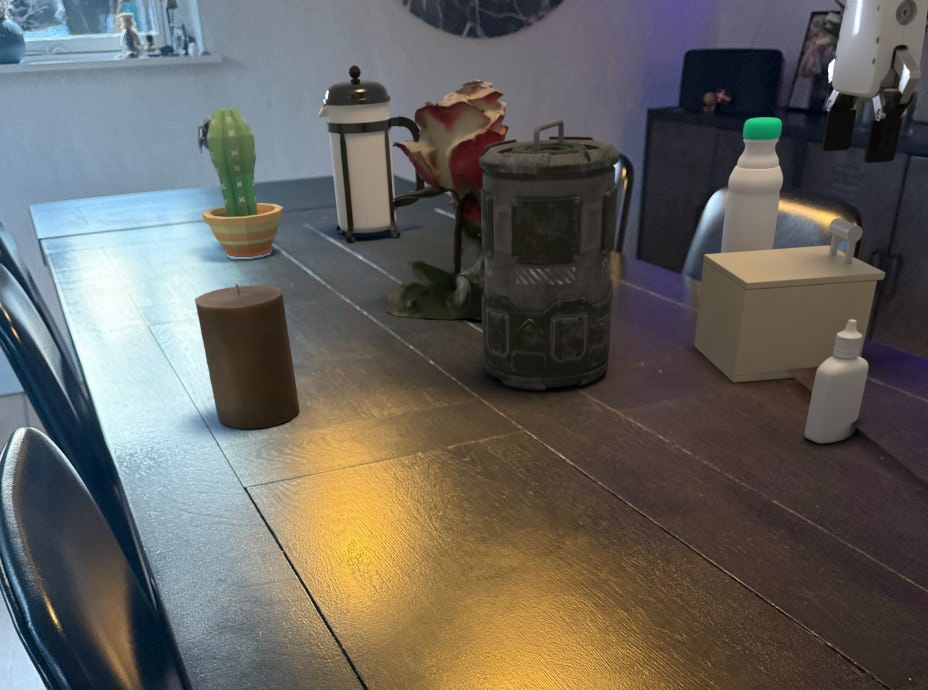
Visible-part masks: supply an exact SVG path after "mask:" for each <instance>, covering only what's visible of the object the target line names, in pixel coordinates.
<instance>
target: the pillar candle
mask: <svg viewBox="0 0 928 690" xmlns="http://www.w3.org/2000/svg"><path fill="white" fill-rule="evenodd" d="M194 303H195V306H196V307H195V308H196V313H197V318H198V323H199V327H200V334H201V339H202V342H203V343H202V344H203V348H204V354H205V359H206V360H205V361H206V365H207V369H208V376H209V380H210V381H209V382H210V385H211V389H212V390H211V391H212V395H213V400H214V406H215V411H216V416H217V418H218V421H219V422H220V424H222V425H224V426H226V427H230V428H238V429H245V430H253V429H254V430H256V429H265V428H268V427H269V428H270V427H273V426H277V425H280V424H283V423H287V422H289V421H291V420H293V419H294V418H295V417H296V416H297V415H298V414H299V413H300V404H299V397H298V388H297V384H296V383H297V382H296V376H295V369H294V362H293V356H292V355H293V354H292V349H291V343H290V336H289V329H288V322H287V316H286V309H285V302H284V295H283V291H282V290H281V289H280V288H278V287H277V286H271V285H263V284H249V285H239V284H238V283H235V286H230V287H225V288H224V287H223V288H219V289H214V290H211V291H209V292H205V293H203V294H201V295H199V296H197V297H195V298H194Z"/></svg>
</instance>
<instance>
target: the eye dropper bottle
mask: <svg viewBox="0 0 928 690" xmlns="http://www.w3.org/2000/svg"><path fill="white" fill-rule="evenodd" d="M862 337H863V336H862V334H860V333H858V332H857V330H856V320H853V319H851V320H849V321H848V323H847V326H846V328H845V330H844V331H842V332H839V333H837V335H836V340H835V345H834V350H833V354H834V355H833V356H831V357H830V358H828V359H827V360H826V361H824V362H823V363H822V364H821V365H820V366H819V367H817V369H816V372H815V377H814V381H813V387H812V391H811V397H810V402H809V405H808V411H807V412H808V413H807V417H806V421H805V422H806V423H805V428H804V434H803V436H804V438H805V439H807V440H809V441H811V442H814V443H815V444H824V445H825V444H832V443H838V442H841V441H844V440H846V439H848V438H850V437H851V436H853V435H854V434H855V432H856V429H857V425H855V424H854V422H856V421H857V420H858V419H859V415H860V410H861V406H862V403H863V402H862V401H863V397H864V393H865V388H866V384H867V378H868V373H869V362H868V361H867V360H866V359H865V358H863V357H862V356H861V357H858V355H859V351H860V346H861V342H862Z"/></svg>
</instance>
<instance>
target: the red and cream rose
mask: <svg viewBox="0 0 928 690" xmlns="http://www.w3.org/2000/svg"><path fill="white" fill-rule="evenodd" d="M461 86H462V87H460V88H459V89H456V90H455V91H452V92H449V93H448V94H445V95H444V97H443V100H442V101H437V103H435V104H434V103H432V101H431V100H428V101H426V102H424V104H425V105H424V106H423V107H420V108H418V109H415V112H414V115H413V118H414V122H415V123H416V124H417V126H418V128H419V129H420V132H419V133H418V134H419V135H421V136H420V137H419V142H416V141H413V139H412V140H411V139H410V140H405V141H394V142H393V144H392V147H396V148H397V149H400V150H401V151H402V153H403V154H404V155H405V156H406V157H407V158H408V160H409V162H410V163H411V164H412V166H413V167H414V170H415V169H416V170H417V172H418V174H419V176H420V178H421V179H423V180H424V181H425V184H426V185H427V187H428V188H424V189H423V190H419V191H414V190H409V191H405V192H402V193H399V194H397V195H395V197H394V198H393V200H394V201H397V200H400V199H403V198H420V199H432V198H436V197H438V196H441V195H443V194H445V193H450V196H451V201H449V202H448V205H449V206H451V207H453V208H452V211H453V214H454V219H455V221H454V223H455V225H454V230H453V239H452V240H453V241H452V248H453V257H452V258H453V259H452V261H453V265H454V267H453V270H452V271H447V270H444V269H443V268H439V267H437V266H435V265H432V264H430V263H429V264H428V263H426V262H425V261H424V260H420V259H417V258H415V257H412V258H410V259H409V260H407V262H406V263H407V265H408V266H410V268H411V271H412V276H413V277H415V278H416V279H417V280H418V281H419V282H417V281H411V280H408V279H407V280H406V281H405V282H403V283H401V285H400V287H398V289H397V290H395V291H393V292H392V293H391V294H388V296H387V306H386V309H385V313H388V314H391V315H392V316H395V317H406V318H412V319H413V318H414V319H427V320H428V319H430V320H433V319H434V320H447V321H448V320H449V321H454V320H456V319H457V320H461V319H473V320H478V321H482V296H483V293H484V289H485V257H484V253H483V251H482V224H481V188H482V187H483V172H484V171H485V170H484V169H482V168H481V167H480V164H479V158H480V157H481V156H482V154H483V151H484V149H485V148H486V147H487V146H488V145H491V144H494V143H497V142H502V141H506V137H507V134H508V131H509V129H510V128H509V126H508V125H505V124H502V123H503V121H504V120H505V117H506V110H507V107H508V104H507V103H506V102H505V101H498V100H499V99H500V98H501V97H503V96H504V92H502V91H500V90H498V89H495V88H494V87H493V82H491V81H489V80H480V79H471V80H469V81H467V82H463V84H462V85H461ZM367 220H368V218H367ZM469 248H470V249H471V251H472V253H473V255H474V256H475V258H476V262H475V264H474V266H472V267H465V266H464V265H463V263H462V257H463V255H464V254H465V253H466V252H467V250H468V249H469Z"/></svg>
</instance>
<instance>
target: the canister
mask: <svg viewBox="0 0 928 690" xmlns="http://www.w3.org/2000/svg"><path fill="white" fill-rule="evenodd" d="M564 124H565V123H564V120H563V119H562V118H556V119H553V120H548V121H546V122H542V123H540V124H537V125H536V126H535V127H534V131H533V140H525V141H524V140H523V141H517V139H516V138H513V139H507V140H505V141H502V142H497V143H494V144H491V145H488V146H487V147H486V148H485V149H484V151H483V154H482V156H481V157H480V158H479V164H480V167H481V168H482V169H484V170H485V171H484V172H483V187H482V188H481V224H482V251H483V253H484V257H485V289H484V293H483V296H482V320H481V321H482V322H481V325H482V327H481V328H482V355H483V367H484V369H485V371H486V372H487V373H488V374H490V375H491V376H493V377H495V378H497V379H498V380H500V381H501V383H502V385H504V386H506V387H510V388H515V389H520V390H527V391H544V392H545V391H546V389H548V388H558V387H568V386H573V385H576V387H581V386H585V385H587V384H589V383H591V382H594V381H596V380H598V379H600V377H602V376H603V375H604V373H605V372H606V370H607V369H608V366H609V356H610V346H611V345H610V344H611V330H612V329H611V325H612V311H613V310H612V309H613V293H614V291H613V289H614V282H613V280H612V279H611V265H612V264H611V263H612V252H613V251H614V249H615V246H616V245H615V243H616V225H617V224H616V223H617V206H618V192H619V191H618V190H619V189H618V188H619V186H618V183H617V182H616V171H617V169H616V167H615V165H617V164H618V163H619V162H620V155H621V154H620V152H619V150H618V149H617V147H616V146H615V145H614V144H612V143H610V144H609V143H607V142H604V141H599V140H595V139H594V138H593V137H591V136H575V135H574V136H571V135H568V136H565V125H564ZM555 127H557V129H558V130H557V136H556V135H555V136H548V139H540V133H541V132H542V131H544V130H548V129H551V128H555Z"/></svg>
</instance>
